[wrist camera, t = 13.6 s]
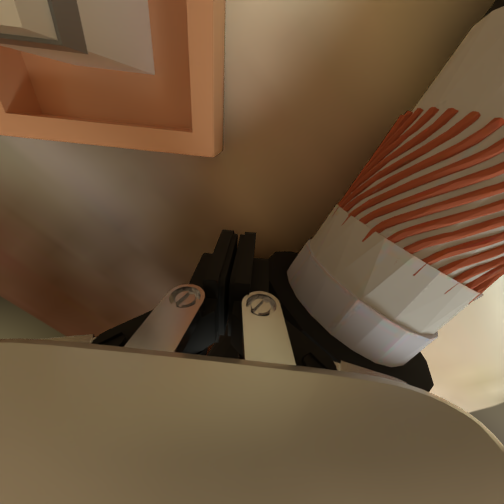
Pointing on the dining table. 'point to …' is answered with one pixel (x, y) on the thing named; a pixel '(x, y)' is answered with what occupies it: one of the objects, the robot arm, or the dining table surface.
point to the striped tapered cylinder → (409, 225)
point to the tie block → (81, 32)
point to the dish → (128, 89)
